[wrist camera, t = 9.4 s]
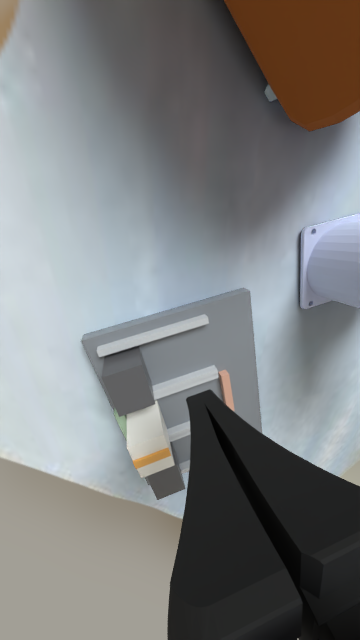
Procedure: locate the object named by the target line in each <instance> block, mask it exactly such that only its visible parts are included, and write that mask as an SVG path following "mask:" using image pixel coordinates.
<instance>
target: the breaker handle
mask: <svg viewBox="0 0 360 640" xmlns="http://www.w3.org/2000/svg"><path fill="white" fill-rule="evenodd" d="M127 449H128V451H129V454H130V456H131V458H132V460H133V464H134V466H135V468H136V469H137V470H138V472H139V474H140V476H141V478H144V477H146V476H149V475H151V474H154V473H156V472H159V471H161V470H164V469H166V468H169V467H172V466H174V465H175V464H174V459H173V455H172V450H171V445H170V441H169V436H168V432H167V427H166V425H165V422H164V419H163V416H162V413H161V410H160V407H159V404H158V401H157V400H155V405H152V406H149V407H146V408H143V409H141V410H138V411H135V412H132V413H129V414H127Z"/></svg>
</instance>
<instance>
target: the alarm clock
mask: <svg viewBox="0 0 360 640" xmlns="http://www.w3.org/2000/svg"><path fill="white" fill-rule="evenodd" d="M224 2H225V3H226V5H227V7H228V9H229V11H230V13H231V15H232V16H233V18H234V20H235V22H236V24H237V26H238V28H239V30H240V31H241V33H242V35H243V37H244V39H245V41H246V43H247V44H248V46H249V48H250V50H251V52H252V54H253V56H254V57H255V59H256V61H257V63H258V65H259V67H260V69H261V70H262V72H263V74H264V76H265V78H266V80H267V82H268V85H267V87H266V89H265V92H264V93H265V94H266V96H267V98H268V100H269V102H271V101H274V100H276V99H278V100H279V102H280V104H281V105H282V107H283V109H284V110H285V112H286V114H287V115H288V117H289V119H290V120H291V121H292V122H294V123H295V124H297V125H299V126H301V127H303V128H304V129H306V130H308V131H313V130H317V129H320V128H324V127H327V126H330V125H334V124H337V123H340V122H342V121H344V120H345V119H347V118H349V117H351V116H352V115H354V114H356V113H357V112H359V111H360V0H224Z"/></svg>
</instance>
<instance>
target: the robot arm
mask: <svg viewBox="0 0 360 640" xmlns="http://www.w3.org/2000/svg"><path fill="white" fill-rule="evenodd" d="M312 230H313V232H312V234H311V231H312ZM333 300H334V301H337V302H340V303H344V304H347V305H350V306H353V307H357V308H360V213H358V214H355V215H351V216H347V217H343V218H339V219H336V220H332V221H328V222H324V223H320V224H316V225H313V226H309V227H305V228H304V229H303V230H302V232H301V272H300V307H301V308H303V309H308V308H311V307H314V306H317V305H320V304H324V303H327V302H330V301H333ZM309 302H310V303H309ZM186 402H187V406H188V410H189V417H190V433H191V444H190V468H189V480H188V488H187V497H186V504H185V511H184V516H183V522H182V528H181V534H180V539H179V544H178V549H177V554H176V559H175V563H174V568H173V572H172V577H171V582H170V594H169V609H168V640H297V638H299V640H360V486H357V485H355V484H353V483H351V482H348V481H346V480H344V479H342V478H340V477H338V476H335V475H333V474H331V473H329V472H327V471H325V470H323V469H321V468H319V467H317V466H315V465H314V464H312V463H310V462H308V461H306V460H304V459H303V458H301V457H299V456H297V455H295V454H293V453H292V452H290V451H288V450H287V449H285V448H283V447H282V446H280V445H279V444H277V443H275V442H274V441H272V440H271V439H269V438H268V437H266V436H265V435H263V434H262V433H261V432H259V431H258V430H256V429H255V428H254V427H252V426H251V425H250V424H248V423H247V422H246V421H245V420H243V419H242V418H241V417H240V416H239V415H237V414H236V413H235V412H234V411H233V410H231V409H230V408H229V407H228V406H227V405H226V404H225V403H224V402H223V401H222V400H221V399H220V398H219V397H218V396H217V395H216V394H215V393H214V392H213V391H212V390H210V389H209V390H206V391H203V392H201V393H198V394H195V395H192V396H189V397H187V399H186Z"/></svg>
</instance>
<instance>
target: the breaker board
mask: <svg viewBox="0 0 360 640" xmlns="http://www.w3.org/2000/svg"><path fill="white" fill-rule="evenodd" d="M81 342H82V344H83V346H84V348H85V350H86V352H87V355H88V357H89V359H90V361H91V363H92V365H93V367H94V369H95V372H96V374H97V376H98V378H99V380H100V382H101V384H102V387H103V389H104V391H105V393H106V395H107V397H108V399H109V402H110V404H111V406H112V408H113V410H114V416H115V418H116V420H117V422H118V424H119V426H120V428H121V430H122V433H123V435H124V437H125V439H126V441H127V414H129V413H132V412H135V411H138V410H141V409H143V408H146V407H149V406H152V405H155V400H157V401H158V404H159V407H160V410H161V413H162V416H163V419H164V422H165V425H166V427H167V432H168V436H169V441H170V445H171V450H172V455H173V459H174V464H175V465H174V466H172V467H169V468H166V469H164V470H161V471H159V472H156V473H154V474H151V475H149V476H146V477H145V479H146V481H147V483H148V485H151V487H152V489H153V491H154V493H155V496H156V498H157V500H159V499H161V498H164V497H166V496H169V495H171V494H173V493H176V492H178V491H181V490H183V489H185V485H184V481H183V477H182V474H183V473H186V472H188V471H189V468H190V444H191V433H190V417H189V410H188V406H187V402H186V399H187V397H189V396H192V395H195V394H198V393H201V392H203V391H206V390H209V389H210V390H212V391H213V392H214V393H215V394H216V395H217V396H218V397H219V398H220V399H221V400H222V401H223V402H224V403H225V404H226V405H227V406H228V407H229V408H230V409H231V410H233V411H234V412H235V413H236V414H237V415H239V416H240V417H241V418H242V419H243V420H245V421H246V422H247V423H248V424H250V425H251V426H252V427H254V428H255V429H256V430H258V431H259V432H261V433H262V426H261V414H260V402H259V391H258V379H257V368H256V356H255V344H254V333H253V321H252V310H251V298H250V291H249V290H247V289H244V288H241V289H238V290H235V291H231V292H228V293H224V294H221V295H217V296H214V297H211V298H207V299H204V300H200V301H197V302H194V303H190V304H187V305H183V306H180V307H176V308H173V309H170V310H166V311H163V312H159V313H156V314H153V315H149V316H146V317H142V318H139V319H136V320H132V321H129V322H125V323H122V324H118V325H115V326H112V327H108V328H105V329H101V330H98V331H95V332H91V333H88V334H84V335H83V338H82V340H81Z"/></svg>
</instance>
